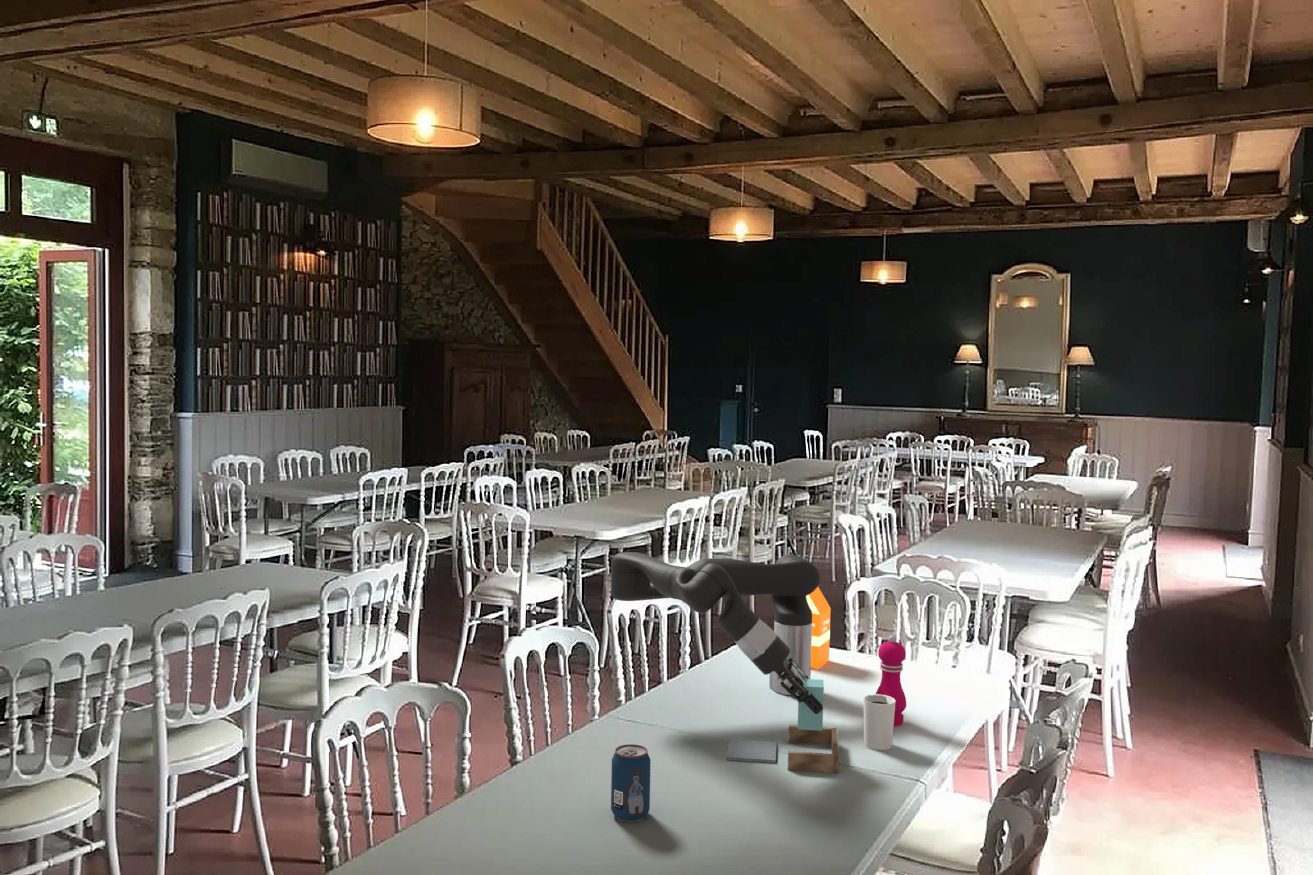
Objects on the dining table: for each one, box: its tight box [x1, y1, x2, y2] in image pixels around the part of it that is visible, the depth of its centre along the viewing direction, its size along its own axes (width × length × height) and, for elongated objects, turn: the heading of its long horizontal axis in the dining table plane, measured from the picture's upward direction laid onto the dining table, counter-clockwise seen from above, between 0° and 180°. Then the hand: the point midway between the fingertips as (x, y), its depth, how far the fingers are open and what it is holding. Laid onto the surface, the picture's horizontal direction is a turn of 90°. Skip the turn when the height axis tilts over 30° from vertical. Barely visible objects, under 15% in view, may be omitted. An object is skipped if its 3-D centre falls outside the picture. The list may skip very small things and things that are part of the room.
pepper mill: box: [875, 634, 907, 727], centre depth 242 cm, size 7×7×20 cm
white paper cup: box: [863, 693, 896, 751], centre depth 228 cm, size 7×7×10 cm
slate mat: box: [725, 739, 777, 764], centre depth 223 cm, size 10×10×1 cm
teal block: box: [797, 678, 825, 731], centre depth 220 cm, size 5×5×9 cm
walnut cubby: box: [787, 724, 840, 774], centre depth 221 cm, size 10×16×4 cm, turn 173°
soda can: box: [610, 744, 652, 823], centre depth 191 cm, size 7×7×12 cm
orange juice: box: [806, 586, 832, 670], centre depth 287 cm, size 8×9×20 cm
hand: (819, 706), depth 220 cm, fingers closed on teal block, 5 cm apart
